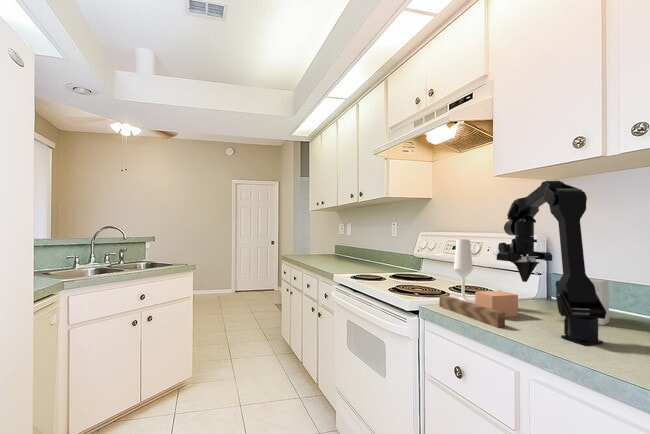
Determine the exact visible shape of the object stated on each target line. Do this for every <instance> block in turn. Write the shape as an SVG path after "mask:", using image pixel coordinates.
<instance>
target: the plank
mask: <svg viewBox="0 0 650 434" xmlns="http://www.w3.org/2000/svg"><path fill="white" fill-rule="evenodd" d="M438 301H439V307H440V308H443V309H445V310H448V311H450V312H454V313H455V314H460V315H462V316H465V317H468V318H470V319H473V320H476V321H478V322H481V323H484V324H486V325H490V326H492V327H495V328H498V329H499V328H500V329H502V328H505V327H506V317H505V313H502V312H499V311H496V310H493V309H489V308H486V307H483V306H479V305H476V304H475V303H473V302H472V303H470V302H471V301H470V302H466V301H463V300H460V299H459V298H456V297H454V296H449V295H446V294H440V295H439V300H438Z"/></svg>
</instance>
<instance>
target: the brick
mask: <svg viewBox="0 0 650 434" xmlns="http://www.w3.org/2000/svg"><path fill="white" fill-rule="evenodd" d="M474 292H475V302H474V304H476V305H479V306H483V307H486V308H489V309H493V310H496V311H499V312H502V313H505V318H510V317H519V294H515V293H511V292H507V291H503V290H483V291H482V290H481V291H474Z"/></svg>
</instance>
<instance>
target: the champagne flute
mask: <svg viewBox="0 0 650 434" xmlns="http://www.w3.org/2000/svg"><path fill="white" fill-rule="evenodd" d="M453 264H454V265H453V269H454V271H455V273H456V274H458V276H459V277H461V293H460V294H461V295H460V296H461V297H459V298H458V299H460V300H463V301H466V302H470V303H473V302H471V301H470V300H469V299H468V298H466V297H465V296H466V295H465V294H466V292H465V291H466V290H465V289H466V288H465V287H466V284H465V283H466V279H465V278H466V277H467V276H468V275H470V274H471V273H472V271H473V268H474V266H473V259H472V247H471V240H470V239H466V238H465V239H463V238H461V239H459V238H458V239H456V244H455V253H454V263H453Z"/></svg>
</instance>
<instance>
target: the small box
mask: <svg viewBox="0 0 650 434" xmlns="http://www.w3.org/2000/svg"><path fill="white" fill-rule="evenodd" d="M588 278H589V277H588ZM589 279H590V280H591V282H592V283H593V284H594V286H595V290H596V294H597V296H598V298H599V299H600V301H601V303H602V305H603V306H604V308H605V310H606V316H605V319H601V318H598V326H600V325H601V326H604V325H607V324H608V323H609V322H610V302H609V301H610V297H609V293H610V292H609V291H610V290H609V280H608V279H601V278H600V279H599V278H589ZM589 310H590V309H589Z"/></svg>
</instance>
